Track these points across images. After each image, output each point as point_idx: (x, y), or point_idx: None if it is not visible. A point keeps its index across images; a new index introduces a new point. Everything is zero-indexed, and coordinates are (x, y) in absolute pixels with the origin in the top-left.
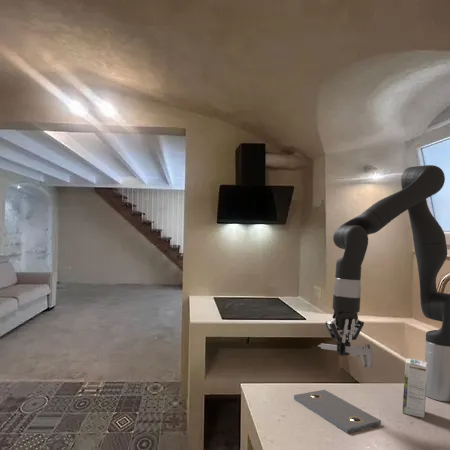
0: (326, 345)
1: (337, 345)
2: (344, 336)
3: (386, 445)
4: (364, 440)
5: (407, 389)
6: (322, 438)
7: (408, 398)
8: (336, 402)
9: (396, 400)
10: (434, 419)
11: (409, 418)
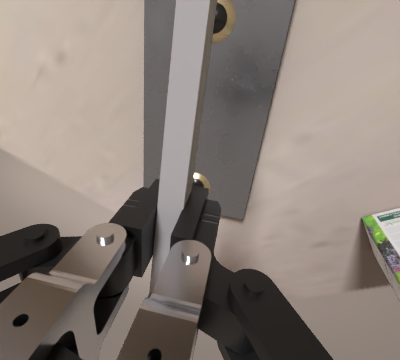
0: (176, 37)
1: (116, 216)
2: (96, 326)
3: None
4: None
5: (393, 273)
6: (90, 177)
7: (381, 256)
8: (234, 96)
9: None
10: None
11: (342, 235)
